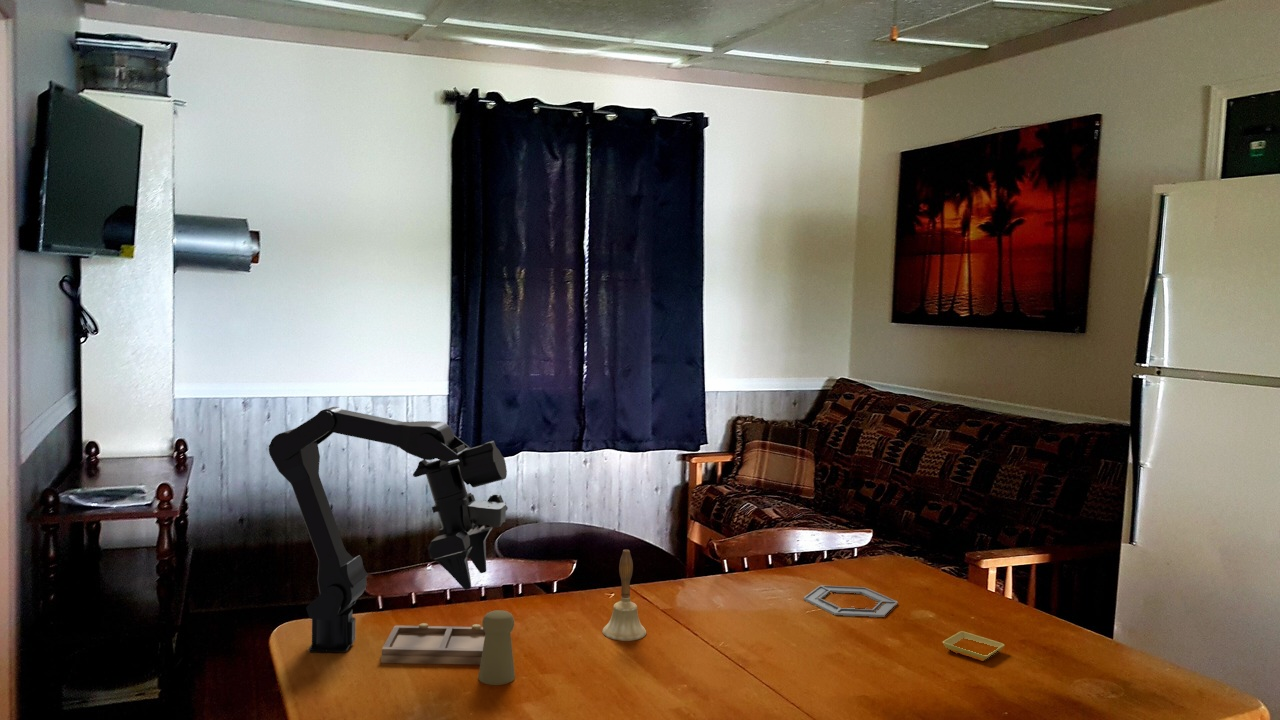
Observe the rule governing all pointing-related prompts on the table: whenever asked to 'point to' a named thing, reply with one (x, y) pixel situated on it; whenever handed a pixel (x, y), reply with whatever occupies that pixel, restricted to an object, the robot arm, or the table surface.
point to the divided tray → (434, 645)
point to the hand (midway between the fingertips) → (476, 580)
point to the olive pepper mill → (497, 649)
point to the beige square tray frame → (960, 635)
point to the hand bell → (625, 608)
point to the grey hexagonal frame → (835, 610)
